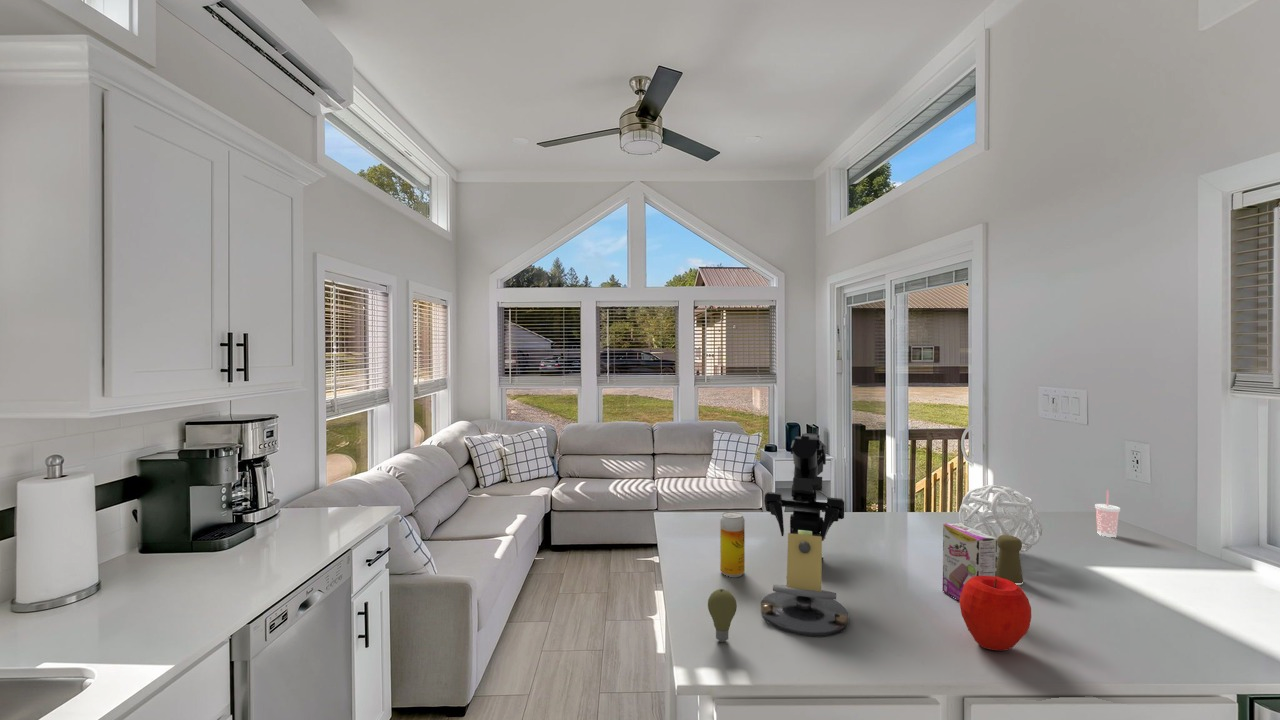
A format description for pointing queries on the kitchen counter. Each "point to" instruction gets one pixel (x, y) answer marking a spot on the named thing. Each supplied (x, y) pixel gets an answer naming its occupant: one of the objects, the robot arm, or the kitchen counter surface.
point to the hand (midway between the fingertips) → (802, 537)
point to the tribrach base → (804, 614)
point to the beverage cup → (1107, 518)
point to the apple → (995, 611)
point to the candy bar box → (966, 556)
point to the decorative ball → (1019, 505)
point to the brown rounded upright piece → (1009, 558)
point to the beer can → (732, 544)
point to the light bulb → (722, 612)
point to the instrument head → (804, 567)
